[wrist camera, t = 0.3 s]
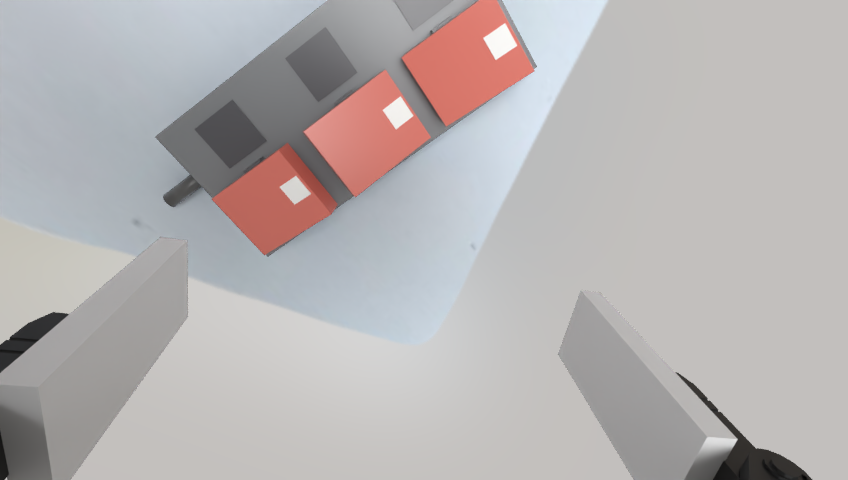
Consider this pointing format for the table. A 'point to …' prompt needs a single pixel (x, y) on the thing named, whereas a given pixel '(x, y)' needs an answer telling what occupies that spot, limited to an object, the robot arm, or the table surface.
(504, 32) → the block
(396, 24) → the power strip
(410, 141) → the red box
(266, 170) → the rocker
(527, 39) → the table surface
